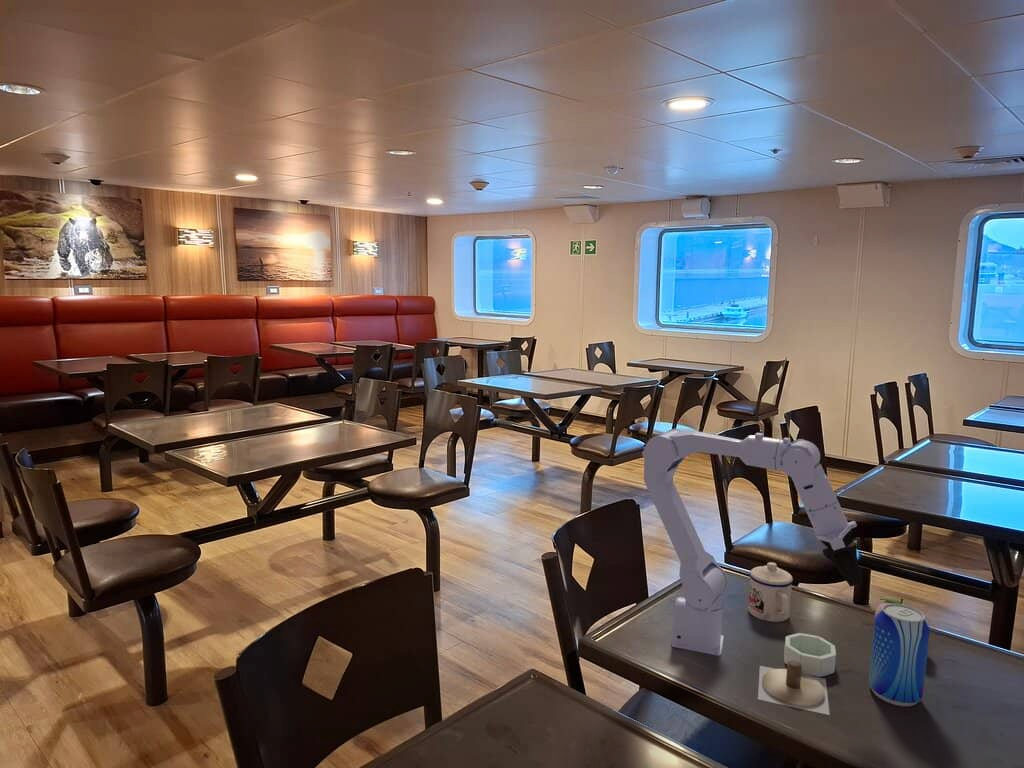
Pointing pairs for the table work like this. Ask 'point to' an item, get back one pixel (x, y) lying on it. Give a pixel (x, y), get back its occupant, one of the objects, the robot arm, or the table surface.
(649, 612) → the table surface
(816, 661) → the bowl
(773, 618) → the teacup with lid
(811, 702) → the lid
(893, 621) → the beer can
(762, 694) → the mat
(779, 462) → the robot arm
